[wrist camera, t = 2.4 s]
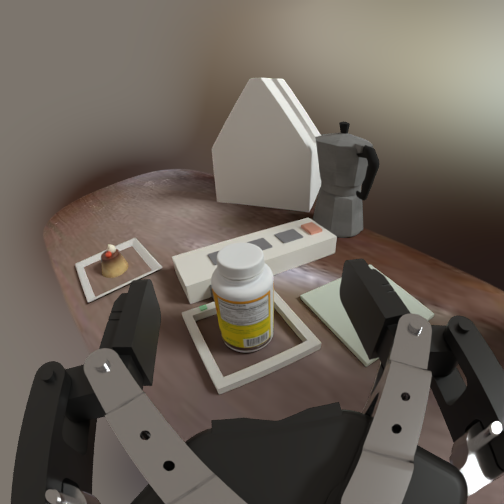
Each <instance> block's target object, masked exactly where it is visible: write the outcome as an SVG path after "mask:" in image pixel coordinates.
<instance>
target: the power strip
mask: <svg viewBox="0 0 504 504" xmlns="http://www.w3.org/2000/svg"><path fill="white" fill-rule="evenodd" d="M336 240H337V236H335V235H334V234H332V233H331V232H329V231H328V230H327V229H325V228H324V227H322V226H321V225H319V224H318V223H316V222H315V221H313V220H312V219H310V218H309V217H308V218H304V219H301V220H297V221H294V222H290V223H287V224H283V225H279V226H276V227H272V228H269V229H265V230H262V231H258V232H255V233H251V234H248V235H244V236H241V237H237V238H234V239H230V240H227V241H224V242H220V243H217V244H213V245H210V246H207V247H203V248H200V249H196V250H193V251H190V252H186V253H183V254H180V255H176V256H173V257H172V259H173V263H174V267H175V272H176V275H177V277H178V279H179V281H180V283H181V286H182V288H183V290H184V292H185V294H186V296H187V298H188V301H189V303H190V304H192V303H195V302H198V301H201V300H204V299H207V298H210V297H212V298H213V300H214V296H213V291H212V285H211V277H212V274H213V272H214V270H215V269H216V268H217V254H218V252H219V251H220V250H221V249H222V248H223V247H225V246H227V245H230V244H234V243H251V244H254V245H256V246H258V247H260V248H261V250H262V251H263V254H264V262H265V264H267V265H268V266H269V267H270V269H271V270H272V273H273V275H276V274H279V273H282V272H285V271H287V270H290V269H293V268H296V267H298V266H301V265H304V264H307V263H309V262H312V261H315V260H317V259H320V258H323V257H325V256H328V255H331V254H333V253H335V248H336Z"/></svg>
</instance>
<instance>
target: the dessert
mask: <svg viewBox="0 0 504 504" xmlns="http://www.w3.org/2000/svg"><path fill="white" fill-rule="evenodd" d="M130 246H133V248H134V249H135V250H136V251H137V252H138V254H139V255H140V256H141V257H142V259H143V260H144V261H145V262H146V263H147V265H148V266H149V267H150V268H151V269H152V271H150V272H148V273H146V274H143V275H141V276H139V277H137V278H135V279H133V280H138V279H140V278H142V277H144V276H147V275H149V274H151V273H153V272H155V271H157V270H159V269H161V268H162V266H161V265H160V264H159V263H158V262H157V261H156V260H155V259H154V258H153V256H152V255H151V254H150V253H149V252H148V251H147V250H146V249H145V248H144V246H143V245H142V244H141V243H140V242H139V241H138V240H137V238H133V239H131V240H128V241H126V242H124V243H121V244H119V245H117V246H114V245H110V244H108V248H107V250H105V251H103V252H100V253H98V254H96V255H94V256H91V257H89V258H87V259H85V260H83V261H80V262H78V263H76V264H75V267H76V270H77V273H78V276H79V279H80V282H81V285H82V288H83V291H84V294H85V296H86V299H87V302H91V301H93V300H95V299H98V298H100V297H102V296H104V295H106V294H108V293H110V292H112V291H114V290H117V289H119V288H121V287H123V286H125V285H127V284H129V283H131V282H132V281H133V280H130V281H128V282H126V283H124V284H122V285H120V286H118V287H115V288H113V289H111V290H109V291H107V292H105V293H103V294H101V295H99V296H96V297H95V295H94V293H93V291H92V288H91V286H90V283H89V280H88V278H87V275H86V273H85V270H84V267H85V266H87V265H89V264H92V263H94V262H96V261H98V260H100V259H101V266H102V275H103V276H104V277H107V278H113V277H117V276H119V275H121V274H123V273H124V272H125V271H126V270H127V269H128V263H127V262H126V260H125V259H124V257H123V256H122V254H121V253H120V252H119V251H121V250H123V249H126V248H128V247H130Z"/></svg>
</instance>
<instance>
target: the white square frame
mask: <svg viewBox="0 0 504 504" xmlns="http://www.w3.org/2000/svg"><path fill="white" fill-rule="evenodd" d="M274 308H275V309H276V311H277V312H278V313H279V314H280V315H281V317H282V318H283V319H284V320H285V321H286V323H287V324H288V325H289V326H290V327H291V329H292V330H293V331H294V332H295V333H296V335H297V336H298V337H299V338H300V339H301V340H302V342H303V343H301V344H299V345H297V346H295V347H293V348H291V349H288V350H286V351H284V352H282V353H280V354H278V355H275V356H273V357H271V358H269V359H266V360H264V361H262V362H259V363H257V364H255V365H252V366H250V367H248V368H245V369H243V370H240V371H238V372H235V373H233V374H230V375H228V376H225V377H223V375H222V374H221V372H220V370H219V368H218V366H217V364H216V362H215V360H214V358H213V356H212V354H211V352H210V351H209V349H208V347H207V345H206V343H205V341H204V339H203V337H202V335H201V332H200V330H199V328H198V326H197V324H196V322H195V321H197V320H200V319H203V318H206V317H209V316H212V315H215V314H217V312H216V307H215V302H212V303H209V304H205V305H202V306H199V307H197V308H194V309H191V310H188V311H185V312H182V316H183V319H184V322H185V324H186V326H187V329H188V331H189V333H190V335H191V338H192V340H193V342H194V344H195V346H196V349H197V351H198V353H199V355H200V357H201V359H202V361H203V363H204V365H205V368H206V370H207V372H208V374H209V376H210V378H211V380H212V382H213V384H214V386H215V388H216V390H217V392H218V394H219V395H220V394H222V393H225V392H227V391H230V390H232V389H235V388H237V387H240V386H242V385H244V384H247V383H249V382H251V381H254V380H256V379H258V378H261V377H263V376H265V375H267V374H270V373H272V372H274V371H276V370H278V369H281V368H283V367H285V366H287V365H289V364H291V363H293V362H295V361H297V360H299V359H301V358H303V357H305V356H307V355H309V354H311V353H313V352H315V351H317V350H319V349H320V347H321V342H320V341H319V340H318V338H317V337H316V336H315V335H314V334H313V333H312V332H311V331H310V330H309V328H308V327H307V326H306V325H305V324H304V323H303V322H302V321H301V319H300V318H299V317H298V316H297V315H296V314H295V313H294V312H293V311H292V309H291V308H290V307H289V306H288V305H287V304H286V303H285V302H284V300H283V299H282V298H281V297H280V296H279V295H278V294H277V293H276V291H275V290H274Z"/></svg>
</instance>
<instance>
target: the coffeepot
mask: <svg viewBox="0 0 504 504" xmlns="http://www.w3.org/2000/svg"><path fill="white" fill-rule="evenodd" d="M339 124H340V130H341V133H335V134H322V136H317V137H315V138H316V146H317V154H318V163H319V172H320V179H321V187H320V190H319V194H318V199H317V203H316V207H315V211H314V215H313V221H315V222H316V223H318V224H319V225H321V226H322V227H324V228H325V229H327V230H328V231H329V232H331V233H332V234H334V235H335V236H337V237H339V238H346V237H352V236H355V235H357V234H358V233H360V231H362V230H363V211H362V200H366V198H367V196H368V194H369V191H370V189H371V186H372V184H373V181H374V178H375V175H376V173H377V171H378V168H379V159H378V157H377V154H376V152H375V149H374V148H373V145H372V144H371V143H370V142H369V141H368V140H365V139H362V138H360V137H357V136H354V135H351V134H348V129H349V123H347V122H340V123H339ZM361 184H362V191H361ZM360 191H361V192H360Z"/></svg>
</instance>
